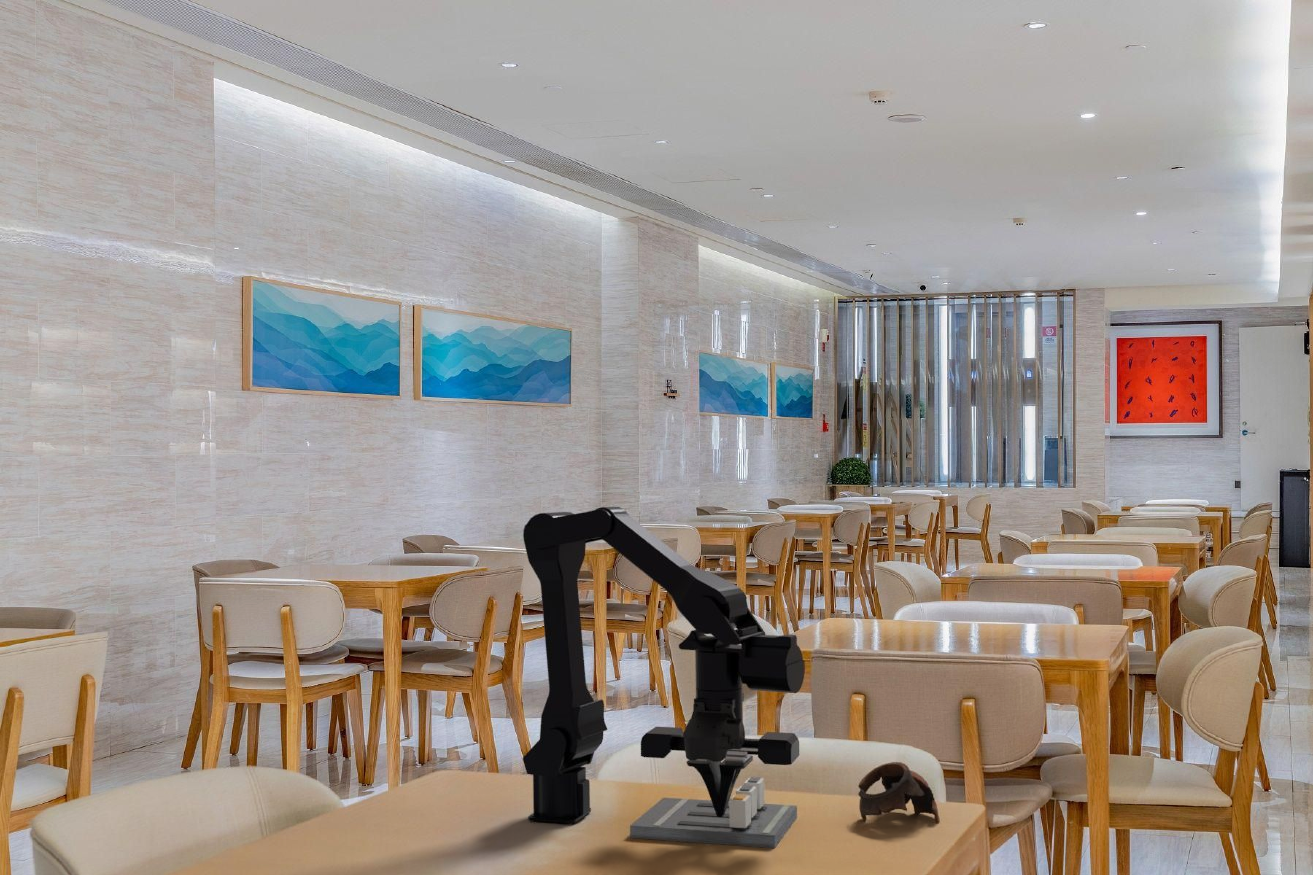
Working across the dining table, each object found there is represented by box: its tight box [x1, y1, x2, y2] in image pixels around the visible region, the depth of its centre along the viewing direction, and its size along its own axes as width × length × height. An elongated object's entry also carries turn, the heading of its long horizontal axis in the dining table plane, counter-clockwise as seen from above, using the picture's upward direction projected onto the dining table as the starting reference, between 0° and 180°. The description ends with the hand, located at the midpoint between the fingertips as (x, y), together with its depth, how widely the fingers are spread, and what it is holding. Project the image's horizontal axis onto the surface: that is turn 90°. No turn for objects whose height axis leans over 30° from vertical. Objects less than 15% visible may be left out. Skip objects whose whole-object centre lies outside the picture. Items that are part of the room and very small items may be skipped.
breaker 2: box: [735, 784, 757, 818], centre depth 157 cm, size 2×3×3 cm
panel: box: [629, 797, 798, 849], centre depth 158 cm, size 18×14×2 cm
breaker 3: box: [729, 794, 751, 828], centre depth 153 cm, size 2×3×3 cm
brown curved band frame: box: [858, 761, 941, 824], centre depth 161 cm, size 12×10×8 cm
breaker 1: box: [743, 776, 766, 809], centre depth 161 cm, size 2×3×3 cm
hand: (720, 816), depth 153 cm, fingers closed
